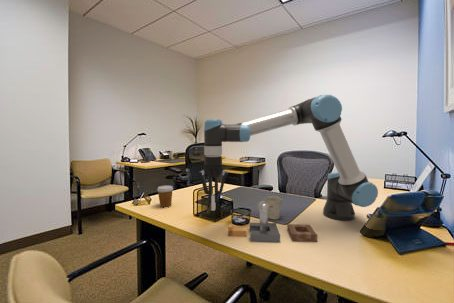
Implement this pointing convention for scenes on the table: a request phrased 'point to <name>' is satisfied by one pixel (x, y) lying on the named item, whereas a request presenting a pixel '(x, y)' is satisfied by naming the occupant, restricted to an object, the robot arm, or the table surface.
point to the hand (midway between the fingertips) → (213, 209)
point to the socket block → (264, 233)
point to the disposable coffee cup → (165, 195)
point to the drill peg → (263, 216)
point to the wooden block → (236, 231)
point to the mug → (273, 207)
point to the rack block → (301, 233)
